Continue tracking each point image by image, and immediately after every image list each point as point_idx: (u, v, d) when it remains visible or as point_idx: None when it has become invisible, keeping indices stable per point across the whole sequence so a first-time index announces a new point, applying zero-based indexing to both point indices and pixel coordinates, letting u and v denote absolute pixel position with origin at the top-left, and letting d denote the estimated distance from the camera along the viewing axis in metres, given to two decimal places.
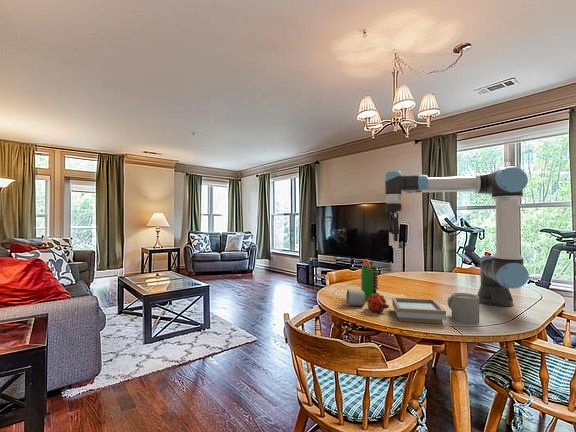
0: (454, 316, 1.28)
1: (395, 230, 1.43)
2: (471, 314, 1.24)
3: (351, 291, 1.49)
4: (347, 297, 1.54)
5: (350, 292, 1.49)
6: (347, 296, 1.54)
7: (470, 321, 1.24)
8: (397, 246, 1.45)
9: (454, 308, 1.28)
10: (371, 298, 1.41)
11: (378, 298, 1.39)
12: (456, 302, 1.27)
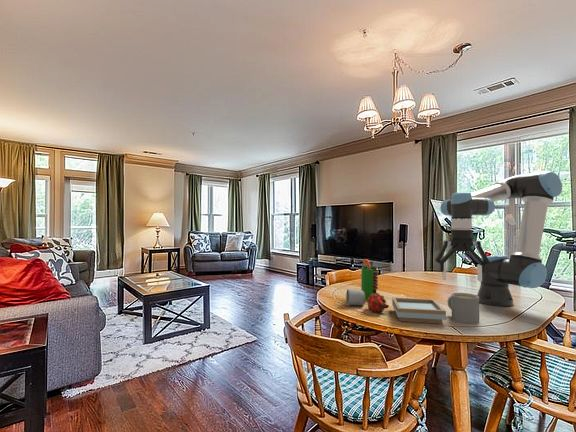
0: (454, 316, 1.28)
1: (435, 259, 1.33)
2: (471, 314, 1.24)
3: (351, 291, 1.50)
4: (347, 297, 1.55)
5: (350, 292, 1.49)
6: (347, 296, 1.55)
7: (470, 321, 1.24)
8: (443, 277, 1.31)
9: (454, 308, 1.28)
10: (371, 298, 1.41)
11: (378, 298, 1.39)
12: (456, 302, 1.27)
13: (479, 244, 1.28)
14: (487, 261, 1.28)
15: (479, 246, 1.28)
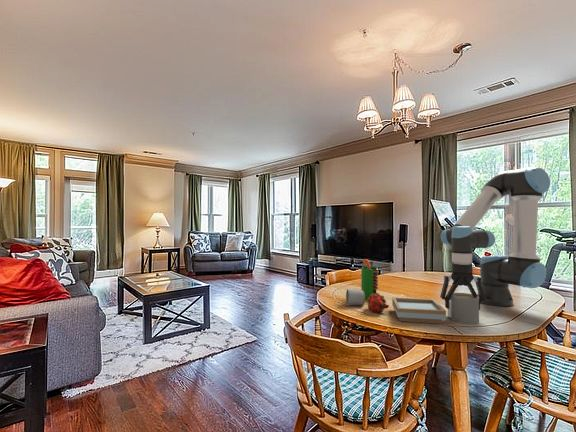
0: (454, 316, 1.28)
1: (440, 296, 1.33)
2: (471, 314, 1.24)
3: (351, 291, 1.50)
4: (347, 297, 1.55)
5: (350, 292, 1.49)
6: (347, 296, 1.55)
7: (470, 321, 1.24)
8: (449, 314, 1.31)
9: (454, 308, 1.28)
10: (371, 298, 1.41)
11: (378, 298, 1.39)
12: (456, 302, 1.27)
13: (479, 280, 1.28)
14: (483, 298, 1.28)
15: (479, 282, 1.28)
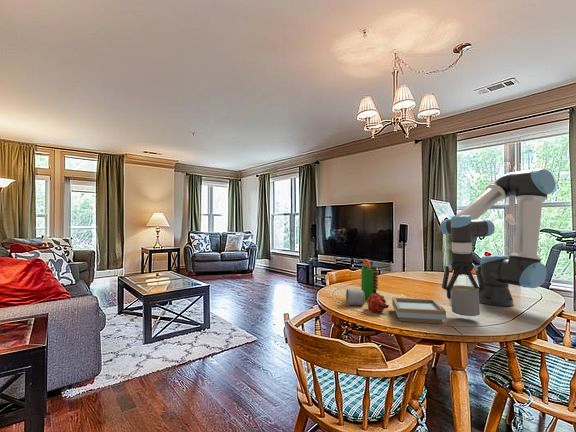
0: (454, 309, 1.28)
1: (442, 286, 1.33)
2: (471, 306, 1.24)
3: (350, 290, 1.50)
4: (347, 296, 1.55)
5: (349, 291, 1.50)
6: (347, 295, 1.56)
7: (470, 313, 1.24)
8: (451, 304, 1.31)
9: (454, 301, 1.28)
10: (371, 298, 1.41)
11: (378, 298, 1.39)
12: (456, 295, 1.27)
13: (479, 269, 1.28)
14: (483, 287, 1.28)
15: (479, 271, 1.28)
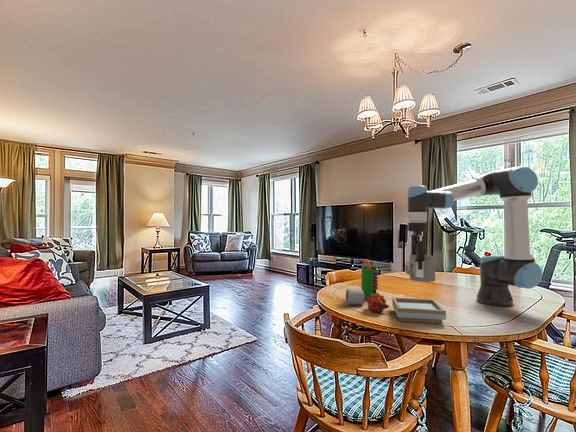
0: (429, 277, 1.28)
1: (420, 258, 1.26)
2: None
3: (350, 290, 1.51)
4: (346, 296, 1.56)
5: (349, 291, 1.50)
6: (346, 295, 1.56)
7: None
8: (422, 275, 1.28)
9: (429, 269, 1.28)
10: (371, 298, 1.41)
11: (378, 298, 1.39)
12: (432, 263, 1.28)
13: None
14: None
15: None
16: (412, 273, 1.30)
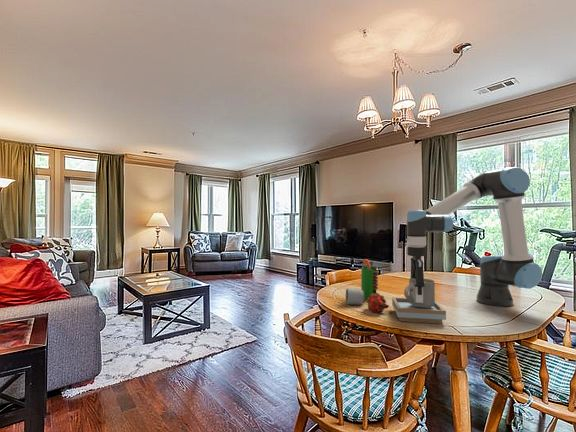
0: (429, 303, 1.28)
1: (419, 284, 1.26)
2: None
3: (350, 290, 1.51)
4: (346, 296, 1.56)
5: (349, 291, 1.51)
6: (346, 295, 1.56)
7: None
8: (421, 300, 1.28)
9: (428, 295, 1.28)
10: (371, 298, 1.41)
11: (378, 298, 1.39)
12: (431, 288, 1.29)
13: None
14: None
15: None
16: (412, 298, 1.30)
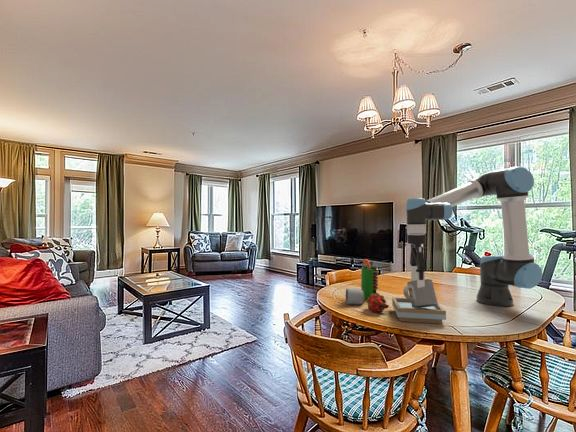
0: (430, 300, 1.24)
1: (421, 268, 1.24)
2: None
3: (350, 290, 1.52)
4: (346, 296, 1.57)
5: (349, 291, 1.51)
6: (346, 295, 1.57)
7: None
8: (423, 285, 1.26)
9: (428, 291, 1.25)
10: (371, 298, 1.41)
11: (378, 298, 1.39)
12: (429, 285, 1.27)
13: None
14: None
15: None
16: (412, 298, 1.27)
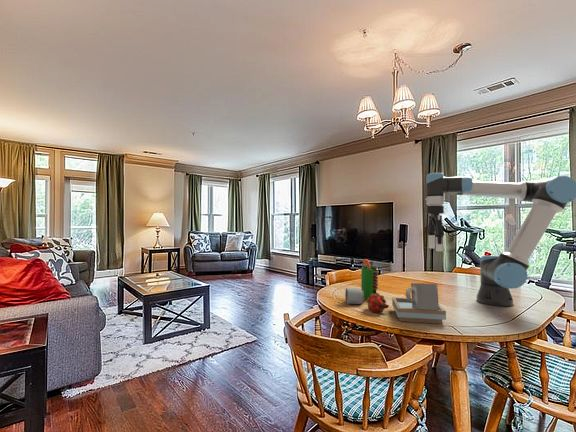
0: (432, 305, 1.23)
1: (440, 233, 1.40)
2: None
3: (350, 290, 1.52)
4: (346, 295, 1.57)
5: (349, 291, 1.52)
6: (346, 295, 1.57)
7: None
8: (441, 249, 1.42)
9: (431, 296, 1.24)
10: (371, 298, 1.41)
11: (378, 298, 1.39)
12: (434, 290, 1.24)
13: None
14: None
15: None
16: (414, 300, 1.26)
